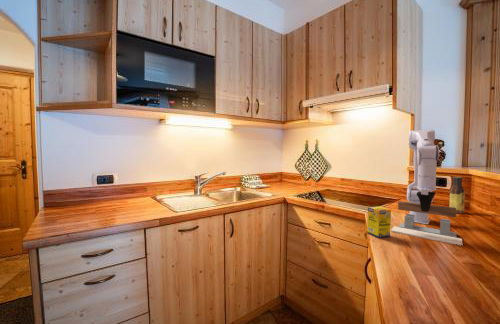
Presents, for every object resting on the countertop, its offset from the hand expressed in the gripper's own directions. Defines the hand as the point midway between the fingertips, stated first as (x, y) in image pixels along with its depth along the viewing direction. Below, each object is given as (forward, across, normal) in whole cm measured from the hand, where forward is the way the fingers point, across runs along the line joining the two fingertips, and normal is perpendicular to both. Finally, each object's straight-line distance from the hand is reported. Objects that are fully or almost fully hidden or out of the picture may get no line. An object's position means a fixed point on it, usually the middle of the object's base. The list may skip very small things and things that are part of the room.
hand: (425, 210), depth 91 cm
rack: (+10, -8, 0) cm, 13 cm away
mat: (+10, 0, 0) cm, 10 cm away
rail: (+1, 0, 0) cm, 1 cm away
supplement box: (+10, +12, -14) cm, 21 cm away
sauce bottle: (+10, -58, +10) cm, 59 cm away
